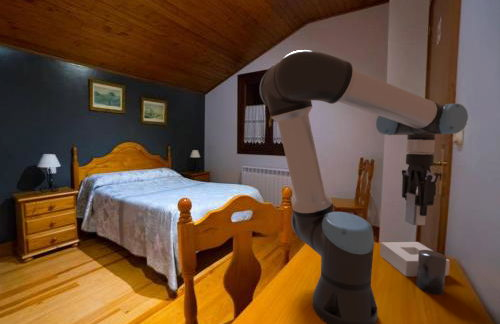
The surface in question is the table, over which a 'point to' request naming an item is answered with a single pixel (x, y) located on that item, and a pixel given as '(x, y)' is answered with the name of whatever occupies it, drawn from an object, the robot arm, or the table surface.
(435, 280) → the cylinder
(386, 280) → the table surface
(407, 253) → the socket block
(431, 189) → the robot arm
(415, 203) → the square bit
